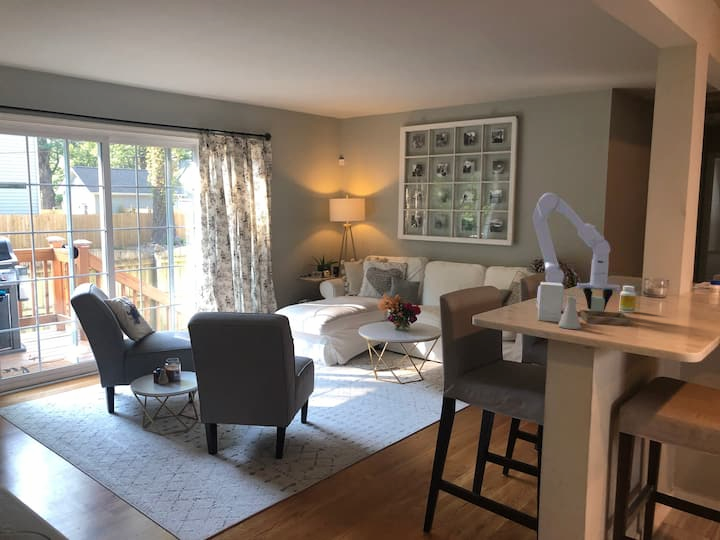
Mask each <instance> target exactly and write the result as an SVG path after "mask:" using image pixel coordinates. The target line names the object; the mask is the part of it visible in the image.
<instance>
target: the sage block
mask: <svg viewBox="0 0 720 540" xmlns="http://www.w3.org/2000/svg"><path fill="white" fill-rule="evenodd" d="M604 304H605V299H604V298H603V296H592V298H591V309H588V310H587V311H603V312H605V310H604Z"/></svg>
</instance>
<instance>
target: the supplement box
mask: <svg viewBox="0 0 720 540" xmlns="http://www.w3.org/2000/svg"><path fill="white" fill-rule="evenodd" d="M562 284H563V282H562V283H550V282H546V281H540V285H539V286H540V294H539V307H538V308H537V310H538V311H537V320H538V321H542V322H543V321H544V322H553V323H559V322H560V320H561V318H562V315H561V314H562V311H561V306H562V293H563V285H564V284H563V285H562Z"/></svg>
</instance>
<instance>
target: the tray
mask: <svg viewBox="0 0 720 540" xmlns="http://www.w3.org/2000/svg"><path fill="white" fill-rule="evenodd" d="M579 317H580V318H581V319H582V320H583V321H584V322H585V323H586V324H596V325H597V324H598V325H609V324H610V325H612V326H624V325H627V326H628V327H631V323H632V319H631V318H630V317H628V316H627V315H625V314H624V312H619V311H618V312H614V311H604V312H603V311H588V310H586V309H585V310H582V309H580V310H579Z"/></svg>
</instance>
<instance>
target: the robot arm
mask: <svg viewBox="0 0 720 540" xmlns="http://www.w3.org/2000/svg"><path fill="white" fill-rule="evenodd" d="M553 211H555V212H557V213H560V214H563V216H565V218H567V220H569V221H570V222H571V224H572V225H573V226H575V228H576V229H577V235H578V237H579V238H580V239H581V240H582V241H583V242H584V243H585V244H586V245H587V246H588V247H590V248H592V252H593V255H592V259H591V267H590V280H589V282H586V283H585V282H583V283H582V282H577V283H576V289H578V290H582V291H583V293H584V296H585V300H586V304H587V309H588V310H589V309H591V298H592V297H593V291H592V290H595V291H596V290H597V291H602V297H603V298H604V299H605V304H604V311H606V308H607V305H608V303H609V300H610V299H611V297H612V295H613V292H614V291H615V292H620V289H621V288H620V287H621V286H620V285H618V284H608V276H609V275H608V274H609V264H610V263H609V262H610V260H609V259H610V255H609V254H610V252H611V251H612V250H611V246H610V243H609V242H608V240H606V239H605V236H604V235H601V234H600V232H598V230H596V227H597V226H595V225H592V224H591V223H585V222H584V221H583V220H582V219H581V217H579V216H578V214H577V213H576V212H575V211H574V210H573V209H572V208H571V206H570V205H569V204H568V203H567V202H566V201H564V200H563V199H562V198H559V196H558V195H557V194H556V193H554V192H545V193H544V194H542V196H540V198H539V199H538V201H537V202H536V206H535V208H534V212H533V215H532V217H531V218H532V223H533V226H534V230H535V233H536V236H537V237H536V238H537V240H538V243H539V248H540V251H541V255H542V260H543V263H544V267H545V269H544V270H545V282H550V283H562V285H563V293H562V306H561V312H563V313H564V311H565V308H564V296H565V295H564V294H565V285H564V284H563V282H564V279H565V273H564V271H563V270H562V269H561V268H560V263H559V262H558V259H557V255H556V252H555V248H554V244H553V240H552V237H551V233H550V229H549V225H548V222H547V219H548V217H549V216H550V214H551V212H553ZM539 294H540V285H538V287H537V295H536V306H535V307H536V308H537V309H538V307H539Z"/></svg>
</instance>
